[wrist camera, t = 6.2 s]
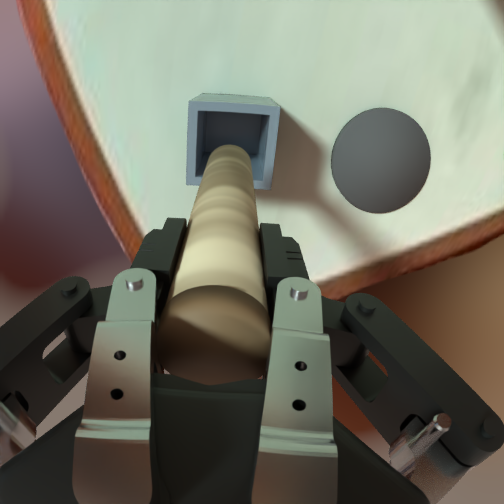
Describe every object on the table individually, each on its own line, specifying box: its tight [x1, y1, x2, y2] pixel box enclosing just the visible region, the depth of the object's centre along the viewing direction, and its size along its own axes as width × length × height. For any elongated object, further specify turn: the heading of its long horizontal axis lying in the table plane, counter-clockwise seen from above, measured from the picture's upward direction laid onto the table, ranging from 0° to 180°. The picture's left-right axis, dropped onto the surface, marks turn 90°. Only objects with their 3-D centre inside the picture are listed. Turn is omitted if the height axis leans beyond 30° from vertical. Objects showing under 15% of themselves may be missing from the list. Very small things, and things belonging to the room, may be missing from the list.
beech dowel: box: [156, 145, 272, 385], centre depth 15 cm, size 3×3×16 cm
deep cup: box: [186, 93, 280, 190], centre depth 31 cm, size 8×8×10 cm
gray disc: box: [331, 108, 431, 213], centre depth 37 cm, size 14×14×1 cm
